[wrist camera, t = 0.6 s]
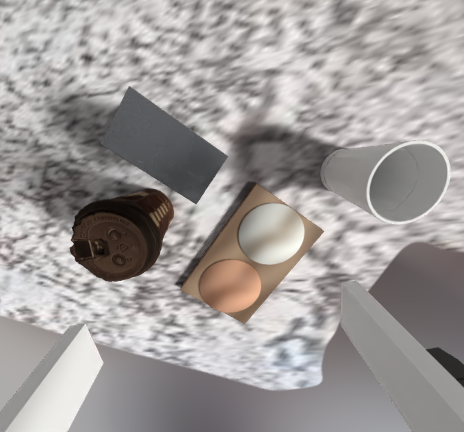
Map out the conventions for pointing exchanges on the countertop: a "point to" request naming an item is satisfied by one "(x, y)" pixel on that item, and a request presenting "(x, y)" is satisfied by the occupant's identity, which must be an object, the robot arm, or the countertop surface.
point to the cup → (389, 178)
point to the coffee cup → (121, 234)
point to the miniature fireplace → (162, 146)
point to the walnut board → (251, 255)
